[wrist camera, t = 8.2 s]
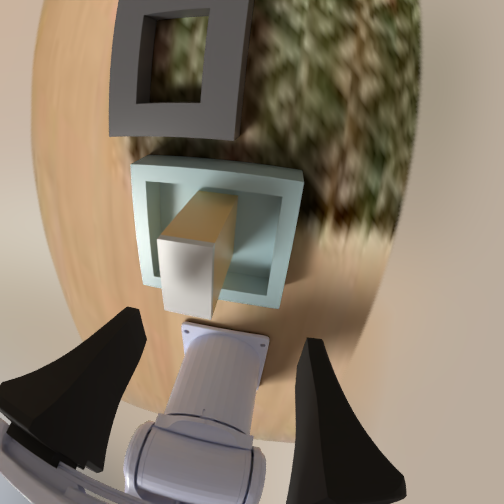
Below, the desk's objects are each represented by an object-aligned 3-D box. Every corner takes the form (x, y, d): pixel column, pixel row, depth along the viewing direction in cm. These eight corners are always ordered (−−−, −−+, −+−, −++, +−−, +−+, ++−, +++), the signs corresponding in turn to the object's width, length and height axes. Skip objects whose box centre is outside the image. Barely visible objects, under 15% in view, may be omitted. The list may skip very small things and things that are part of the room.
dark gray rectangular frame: (239, 136, 16) (233, 140, 14) (123, 131, 16) (109, 136, 15) (255, -11, 11) (251, -21, 9) (133, 0, 11) (119, -6, 10)
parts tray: (280, 286, 21) (278, 309, 19) (156, 265, 22) (143, 284, 20) (302, 170, 17) (304, 182, 14) (148, 154, 17) (130, 164, 15)
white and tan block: (233, 254, 20) (211, 319, 14) (197, 249, 20) (164, 310, 14) (238, 195, 17) (212, 247, 12) (198, 190, 18) (157, 238, 12)
